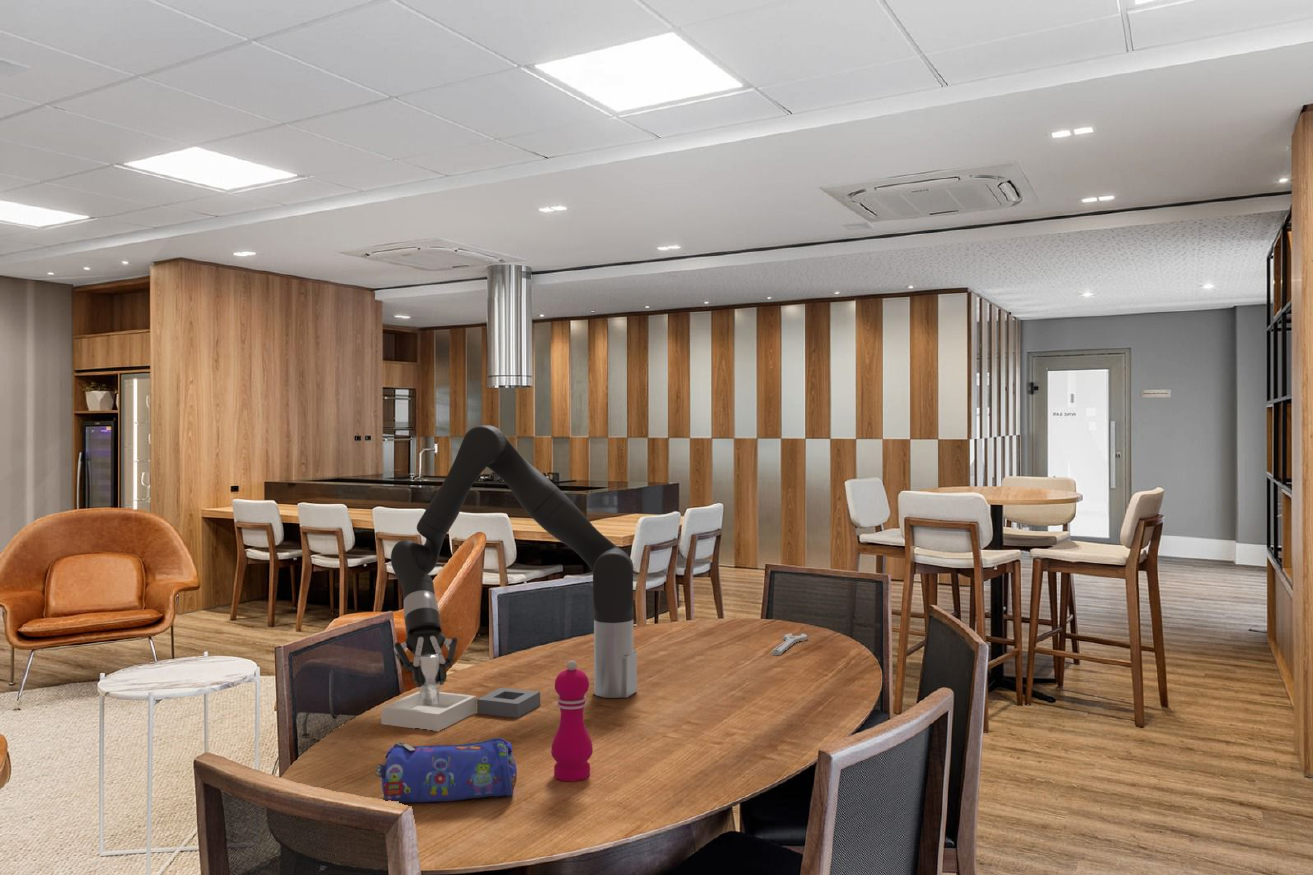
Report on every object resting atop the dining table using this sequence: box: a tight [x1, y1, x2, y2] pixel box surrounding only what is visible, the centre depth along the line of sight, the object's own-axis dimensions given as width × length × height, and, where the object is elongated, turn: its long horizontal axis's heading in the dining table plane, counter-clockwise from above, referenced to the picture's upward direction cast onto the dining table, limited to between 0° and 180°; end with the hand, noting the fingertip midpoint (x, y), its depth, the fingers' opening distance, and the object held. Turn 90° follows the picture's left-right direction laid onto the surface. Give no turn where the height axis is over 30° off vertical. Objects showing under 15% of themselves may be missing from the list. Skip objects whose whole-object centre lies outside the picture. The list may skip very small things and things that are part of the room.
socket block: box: [476, 687, 541, 719], centre depth 195 cm, size 10×10×3 cm
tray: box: [381, 690, 477, 733], centre depth 189 cm, size 14×14×4 cm
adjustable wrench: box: [771, 633, 808, 656], centre depth 256 cm, size 25×6×2 cm, turn 152°
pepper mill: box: [550, 660, 594, 782], centre depth 156 cm, size 7×7×20 cm
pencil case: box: [375, 737, 518, 804], centre depth 146 cm, size 22×9×10 cm, turn 98°
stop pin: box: [419, 654, 440, 706], centre depth 189 cm, size 4×4×10 cm
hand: (431, 683), depth 187 cm, fingers closed on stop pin, 4 cm apart
